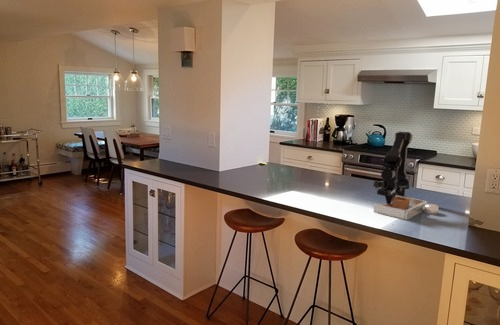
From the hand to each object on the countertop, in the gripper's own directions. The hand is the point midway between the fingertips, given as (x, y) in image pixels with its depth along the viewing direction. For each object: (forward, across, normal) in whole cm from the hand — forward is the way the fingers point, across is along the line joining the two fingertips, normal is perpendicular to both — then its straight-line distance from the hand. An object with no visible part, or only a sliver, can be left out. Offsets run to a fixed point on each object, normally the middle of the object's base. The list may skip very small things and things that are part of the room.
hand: (388, 205), depth 204 cm
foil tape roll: (+1, -9, +19) cm, 21 cm away
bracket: (+2, +4, +4) cm, 6 cm away
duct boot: (+1, 0, +6) cm, 6 cm away
